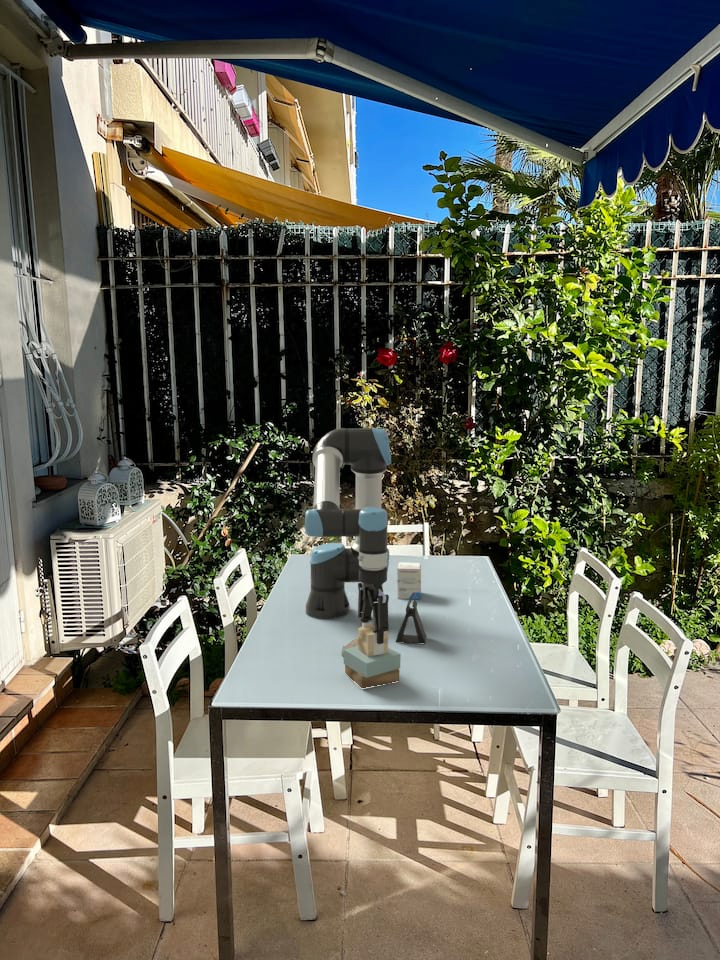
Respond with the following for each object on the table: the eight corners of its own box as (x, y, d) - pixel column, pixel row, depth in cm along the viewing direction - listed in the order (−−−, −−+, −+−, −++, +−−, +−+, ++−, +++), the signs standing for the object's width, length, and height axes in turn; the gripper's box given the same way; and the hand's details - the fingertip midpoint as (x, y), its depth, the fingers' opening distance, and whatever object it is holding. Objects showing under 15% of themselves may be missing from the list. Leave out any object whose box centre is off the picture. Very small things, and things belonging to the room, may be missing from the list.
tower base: (345, 675, 196) (345, 661, 195) (380, 668, 200) (381, 654, 200) (362, 691, 186) (362, 677, 185) (399, 683, 190) (399, 669, 190)
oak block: (357, 648, 194) (357, 627, 193) (377, 645, 196) (377, 624, 195) (367, 656, 188) (367, 635, 187) (387, 653, 191) (387, 631, 190)
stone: (333, 649, 214) (333, 640, 213) (369, 643, 218) (369, 635, 218) (348, 663, 203) (348, 654, 203) (385, 657, 208) (386, 648, 207)
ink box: (421, 592, 267) (421, 562, 265) (420, 599, 259) (421, 568, 257) (398, 591, 268) (398, 561, 266) (396, 598, 259) (397, 567, 258)
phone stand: (395, 642, 218) (395, 604, 216) (397, 635, 224) (398, 598, 222) (424, 644, 217) (425, 606, 215) (426, 637, 222) (427, 600, 221)
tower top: (343, 663, 194) (343, 649, 193) (376, 654, 200) (376, 641, 199) (366, 677, 185) (366, 663, 184) (400, 668, 191) (400, 654, 190)
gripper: (345, 559, 196) (345, 639, 199) (376, 577, 179) (376, 665, 182) (369, 556, 199) (369, 635, 202) (403, 574, 182) (402, 660, 185)
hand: (372, 649), depth 192 cm, fingers open, 6 cm apart
